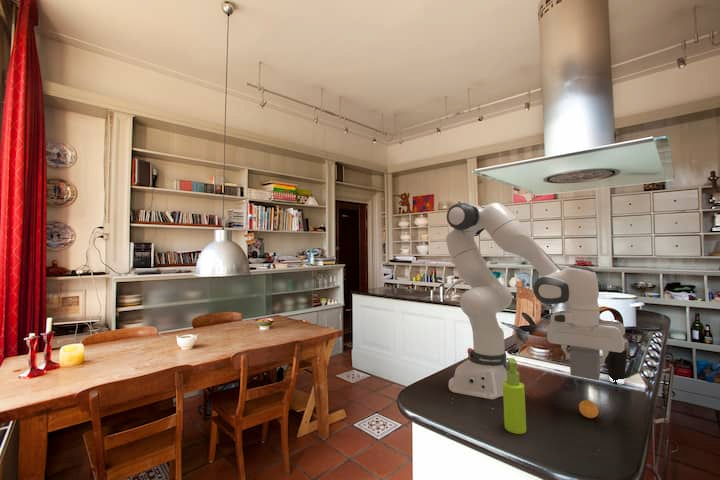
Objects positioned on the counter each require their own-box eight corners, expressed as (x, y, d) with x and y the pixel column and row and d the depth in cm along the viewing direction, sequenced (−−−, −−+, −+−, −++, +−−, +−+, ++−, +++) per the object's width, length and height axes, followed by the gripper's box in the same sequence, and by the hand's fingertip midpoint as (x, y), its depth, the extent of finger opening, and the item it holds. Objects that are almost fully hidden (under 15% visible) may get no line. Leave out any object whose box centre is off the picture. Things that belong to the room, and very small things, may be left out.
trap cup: (598, 380, 102) (597, 354, 103) (570, 375, 107) (569, 350, 107) (600, 372, 108) (599, 347, 108) (573, 368, 113) (572, 344, 113)
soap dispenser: (522, 422, 104) (519, 356, 105) (528, 434, 98) (525, 364, 98) (502, 421, 106) (499, 356, 106) (506, 432, 99) (503, 363, 99)
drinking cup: (634, 387, 127) (631, 333, 127) (611, 386, 128) (608, 332, 129) (622, 379, 134) (620, 328, 135) (601, 378, 136) (598, 327, 136)
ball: (582, 394, 109) (583, 406, 110) (575, 404, 106) (576, 416, 108) (600, 401, 105) (601, 414, 106) (593, 411, 102) (594, 424, 104)
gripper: (624, 318, 103) (627, 364, 103) (549, 312, 116) (550, 353, 116) (624, 322, 98) (626, 371, 98) (545, 315, 111) (546, 358, 111)
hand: (584, 361), depth 107 cm, fingers closed on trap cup, 7 cm apart
